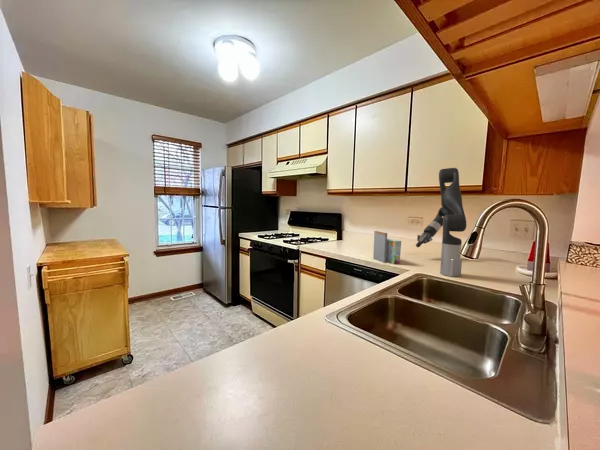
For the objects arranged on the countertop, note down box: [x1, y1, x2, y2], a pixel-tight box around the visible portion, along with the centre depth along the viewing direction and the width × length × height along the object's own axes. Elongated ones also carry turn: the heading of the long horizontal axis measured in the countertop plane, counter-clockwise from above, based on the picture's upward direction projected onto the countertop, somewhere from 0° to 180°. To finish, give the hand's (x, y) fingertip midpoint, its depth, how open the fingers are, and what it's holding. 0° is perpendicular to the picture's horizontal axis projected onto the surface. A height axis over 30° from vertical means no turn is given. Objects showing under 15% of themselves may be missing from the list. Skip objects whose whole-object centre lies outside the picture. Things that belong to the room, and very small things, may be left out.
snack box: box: [386, 237, 402, 265], centre depth 176 cm, size 21×6×15 cm, turn 22°
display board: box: [372, 230, 388, 264], centre depth 175 cm, size 13×2×20 cm, turn 15°
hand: (417, 246), depth 182 cm, fingers closed
